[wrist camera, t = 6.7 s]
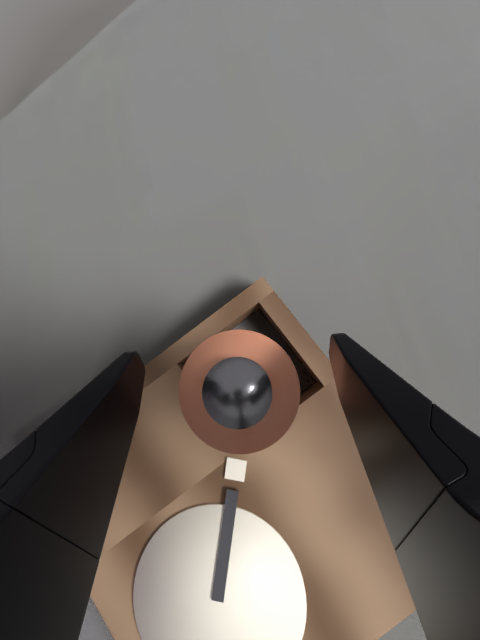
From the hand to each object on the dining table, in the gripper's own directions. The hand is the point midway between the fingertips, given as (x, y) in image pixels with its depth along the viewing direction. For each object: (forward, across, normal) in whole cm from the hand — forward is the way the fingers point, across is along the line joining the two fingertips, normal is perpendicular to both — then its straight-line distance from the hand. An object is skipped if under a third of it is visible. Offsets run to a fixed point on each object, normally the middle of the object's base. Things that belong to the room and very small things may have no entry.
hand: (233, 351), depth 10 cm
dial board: (+1, +2, +14) cm, 14 cm away
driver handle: (+6, 0, +8) cm, 11 cm away
